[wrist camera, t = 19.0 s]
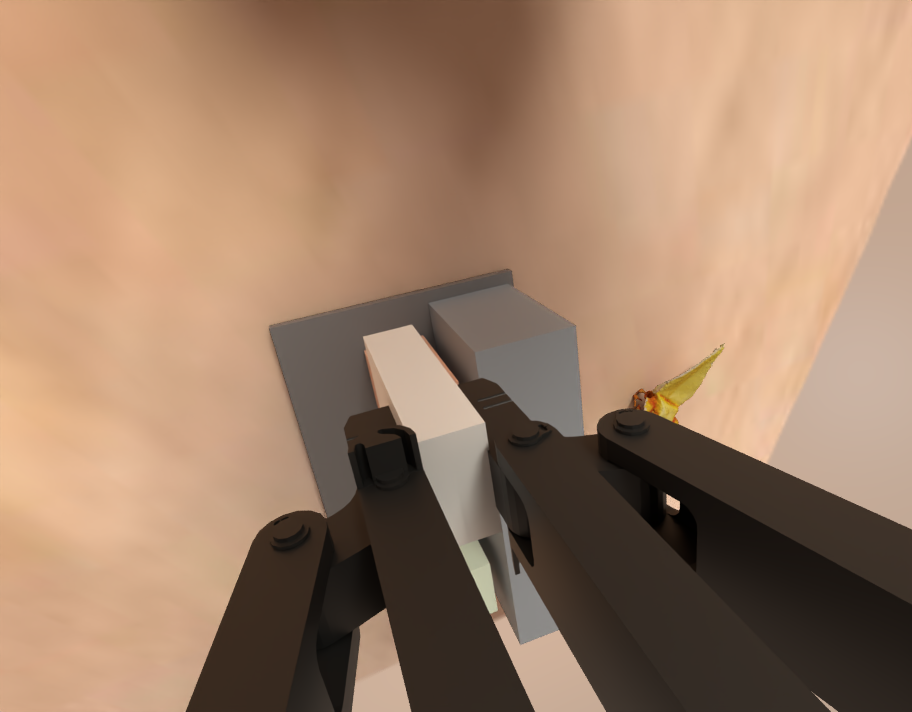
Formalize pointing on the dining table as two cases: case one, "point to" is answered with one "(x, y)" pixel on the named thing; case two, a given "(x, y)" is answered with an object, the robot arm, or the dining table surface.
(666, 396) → the origami crane
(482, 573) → the button two
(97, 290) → the dining table surface
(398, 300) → the console
